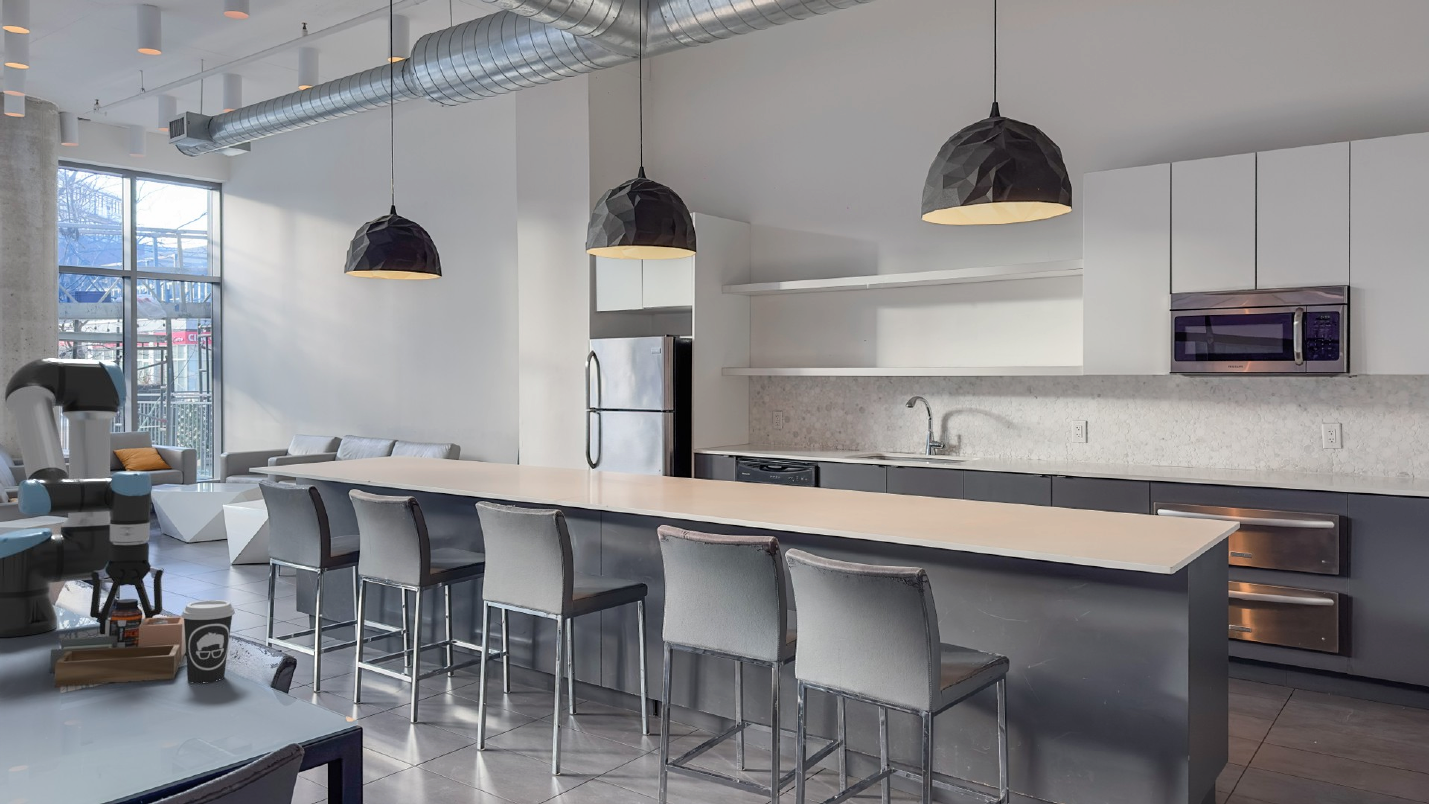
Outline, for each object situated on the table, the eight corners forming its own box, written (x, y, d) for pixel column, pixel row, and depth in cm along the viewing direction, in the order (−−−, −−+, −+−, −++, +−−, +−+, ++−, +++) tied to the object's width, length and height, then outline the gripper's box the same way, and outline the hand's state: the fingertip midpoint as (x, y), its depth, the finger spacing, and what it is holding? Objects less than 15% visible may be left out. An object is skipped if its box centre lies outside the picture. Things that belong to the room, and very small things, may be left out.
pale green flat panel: (64, 651, 202) (64, 646, 202) (112, 648, 205) (112, 644, 205) (56, 660, 195) (56, 655, 195) (105, 657, 199) (105, 652, 199)
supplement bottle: (125, 656, 207) (127, 603, 207) (102, 654, 209) (104, 601, 209) (147, 649, 213) (149, 598, 213) (124, 647, 214) (126, 596, 214)
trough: (66, 672, 194) (67, 650, 194) (179, 665, 202) (180, 644, 202) (54, 686, 185) (55, 663, 185) (173, 678, 193) (174, 656, 193)
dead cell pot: (143, 655, 209) (144, 618, 209) (185, 652, 212) (186, 616, 212) (137, 664, 201) (139, 626, 201) (181, 661, 205) (182, 624, 205)
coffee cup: (242, 673, 197) (245, 600, 197) (213, 687, 188) (216, 610, 188) (198, 671, 198) (201, 598, 198) (167, 684, 189) (170, 607, 189)
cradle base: (61, 660, 203) (62, 638, 203) (116, 656, 207) (117, 635, 207) (50, 672, 194) (50, 650, 194) (107, 669, 198) (108, 647, 198)
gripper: (74, 545, 204) (70, 655, 204) (176, 543, 211) (172, 649, 211) (82, 540, 211) (78, 646, 211) (180, 538, 218) (176, 641, 218)
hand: (125, 647), depth 211 cm, fingers closed on supplement bottle, 6 cm apart
